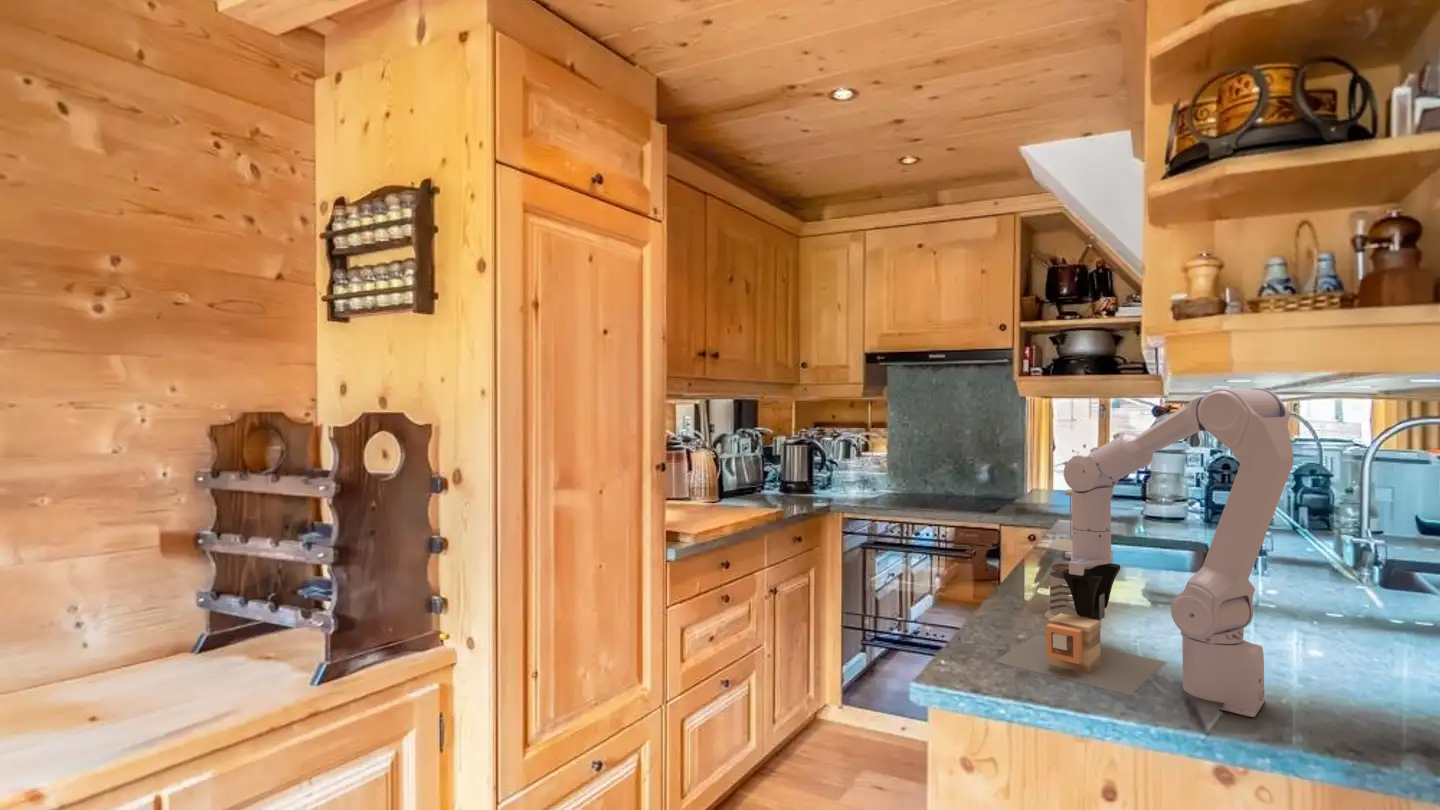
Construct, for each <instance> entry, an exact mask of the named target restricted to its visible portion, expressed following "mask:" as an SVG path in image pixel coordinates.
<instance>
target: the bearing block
mask: <svg viewBox="0 0 1440 810" xmlns="http://www.w3.org/2000/svg"><path fill="white" fill-rule="evenodd" d="M1047 621H1048V623H1047V625H1048V624H1055V625H1060V626H1065V627H1070V628H1075V629H1080V630H1082V655H1083V662H1081V663H1080V664H1076V663H1072V662H1067V661H1063V660H1059V659H1054V658H1050V657H1049V665H1053V666H1058V667H1062V668H1066V669H1070V670H1074V671H1079V672H1083V673H1087V674H1090V673H1091V672H1093V671H1094V670H1095V669H1096V668H1098V667H1099V666H1100V665H1101V653H1100V648H1101V628H1100V621H1099V620H1094V619H1089V618H1083V617H1078V616H1073V615H1067V614H1062V613H1060V614H1058V615H1056V616H1055V617H1053V618H1051V619H1048V620H1047ZM1055 650H1056V651H1061V652H1065V653H1070V654H1073V646H1072V647H1071V648H1069V649H1068V650H1063V649H1058V648H1055Z"/></svg>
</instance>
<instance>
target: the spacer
mask: <svg viewBox="0 0 1440 810" xmlns="http://www.w3.org/2000/svg"><path fill="white" fill-rule="evenodd" d="M1054 633H1059V634H1064V635H1069V636H1073V654H1070V653H1065V652H1061V651H1056V650H1055V648H1053V634H1054ZM1045 636H1046V657H1050V658H1054V659H1059V660H1063V661H1067V662H1072V663H1076V664H1080V663H1081V662H1083V655H1082V630H1080V629H1075V628H1070V627H1065V626H1060V625H1055V624H1048V623H1047V624H1046V625H1045Z"/></svg>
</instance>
